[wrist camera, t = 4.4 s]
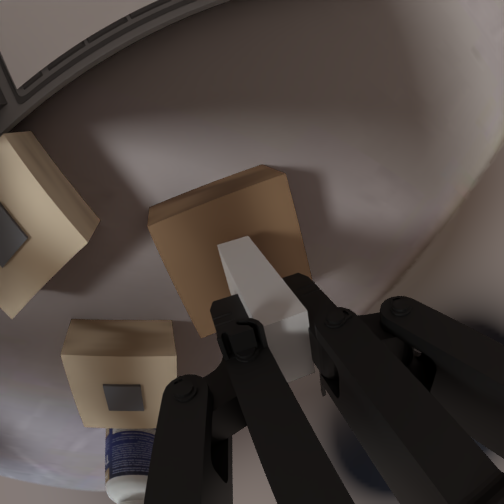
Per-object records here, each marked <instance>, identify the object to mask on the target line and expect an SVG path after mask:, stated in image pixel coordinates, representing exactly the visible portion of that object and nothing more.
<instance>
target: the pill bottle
mask: <svg viewBox="0 0 504 504" xmlns="http://www.w3.org/2000/svg"><path fill="white" fill-rule="evenodd" d="M155 431H156V428H152V429H116V428H106V448H105V482H106V492H107V494H108V496H109V497H110V499H111V500H113V501H114V502H115V503H117V504H144V497H145V491H146V484H147V478H148V472H149V466H150V460H151V454H152V448H153V442H154V437H155Z"/></svg>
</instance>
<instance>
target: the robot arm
mask: <svg viewBox="0 0 504 504" xmlns="http://www.w3.org/2000/svg"><path fill="white" fill-rule="evenodd" d="M217 247H218V250H219V254H220V258H221V261H222V265H223V268H224V272H225V276H226V279H227V283H228V286H229V290H230V293H231V296H229V297H225V298H222V299H219V300H216V301H213V302H212V305H211V308H210V313H211V316H212V320H213V323H214V326H215V329H216V333H217V341H218V344H219V346H220V349H221V352H222V354H223V358H222V362H221V363H220V365H219V366H218V367H217V369H216V370H214V371H213V372H212V373H210V374H209V375H207V376H205V377H204V378H202V377H200V376H197V375H184V376H180V377H178V378H176V379H174V380H172V381H171V382H170V383H169V384H168V385H167V386H166V388H165V390H164V392H163V395H162V400H161V405H160V411H159V416H158V421H157V426H156V431H155V437H154V442H153V448H152V454H151V460H150V466H149V472H148V478H147V484H146V491H145V497H144V504H233V484H232V435H233V434H235V433H236V432H238V431H239V430H241V429H242V428H244V427H246V426H248V429H249V432H250V434H251V437H252V440H253V443H254V445H255V448H256V450H257V453H258V456H259V458H260V461H261V464H262V466H263V469H264V471H265V474H266V477H267V479H268V481H269V484H270V486H271V489H272V492H273V494H274V496H275V499H276V501H277V504H355V503H354V502H353V500H352V498H351V497H350V495H349V493H348V491H347V490H346V488H345V486H344V484H343V483H342V481H341V479H340V477H339V475H338V474H337V472H336V470H335V468H334V467H333V465H332V463H331V461H330V460H329V458H328V456H327V454H326V452H325V451H324V449H323V447H322V445H321V443H320V442H319V440H318V438H317V436H316V435H315V433H314V431H313V429H312V427H311V425H310V423H309V422H308V420H307V418H306V416H305V414H304V413H303V411H302V409H301V407H300V405H299V403H298V402H297V400H296V398H295V396H294V394H293V392H292V390H291V388H290V387H289V385H288V383H289V382H292V381H294V380H297V379H299V378H302V377H305V376H307V375H310V374H312V373H314V372H315V370H314V363H315V365H316V366H317V368H318V369H319V372H320V382H321V392H322V395H323V396H325V395H326V391H325V389H326V390H327V392H328V393H329V395H330V397H331V398H332V400H333V401H334V403H335V405H336V406H337V407H338V409H339V411H340V412H341V414H342V415H343V417H344V419H345V420H346V422H347V423H348V425H349V426H350V428H351V429H352V431H353V432H354V434H355V436H356V437H357V439H358V440H359V442H360V443H361V445H362V446H363V448H364V449H365V451H366V452H367V454H368V455H369V457H370V459H371V460H372V462H373V463H374V465H375V466H376V468H377V469H378V471H379V473H380V474H381V476H382V477H383V479H384V480H385V482H386V483H387V485H388V486H389V488H390V489H391V491H392V492H393V493H394V495H395V497H396V498H397V500H398V501H399V503H400V504H504V473H503V472H501V471H500V470H499V469H498V468H497V467H496V466H495V465H494V463H493V462H492V461H491V460H490V459H489V458H488V456H486V454H485V453H484V452H483V451H482V450H481V448H480V447H479V446H478V445H477V444H476V443H475V442H474V440H473V439H475V440H476V441H478V442H480V443H481V444H482V445H484V446H485V447H487V448H488V449H490V450H491V451H493V452H495V453H496V454H497V455H499V456H501V457H502V458H504V345H502V344H500V343H499V342H497V341H495V340H493V339H491V338H489V337H487V336H485V335H483V334H481V333H479V332H477V331H475V330H474V329H471V328H470V327H468V326H465V325H464V324H462V323H460V322H458V321H456V320H454V319H452V318H450V317H448V316H446V315H444V314H442V313H440V312H438V311H436V310H434V309H432V308H430V307H428V306H426V305H424V304H422V303H420V302H418V301H416V300H414V299H412V298H408V297H404V296H397V297H391V298H389V299H387V300H385V301H384V302H383V303H382V304H381V308H380V312H379V313H374V314H368V315H360V316H357V315H356V314H355V313H354V312H352V311H351V310H349V309H346V308H342V307H337V306H336V305H335V304H334V303H333V302H332V301H331V300H330V299H329V298H328V297H327V296H326V295H325V294H324V293H323V292H322V290H320V288H319V287H318V286H317V285H316V284H315V283H314V282H313V281H312V280H311V279H310V278H309V277H308V276H306V275H303V274H301V273H295V274H292V275H289V276H286V277H283V278H281V277H280V275H279V274H278V273H277V272H276V270H275V269H274V268H273V266H272V265H271V264H270V263H269V261H268V260H267V259H266V258H265V256H264V255H263V254H262V253H261V251H260V250H259V249H258V248H257V246H256V245H255V244H254V242H253V241H252V240H251V239H250V237H249V236H245V237H242V238H239V239H235V240H232V241H229V242H225V243H222V244H219V245H217ZM415 349H417V350H419V351H420V352H422V353H418V352H416V351H414V350H415ZM471 437H472V438H473V439H472V438H471Z"/></svg>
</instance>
